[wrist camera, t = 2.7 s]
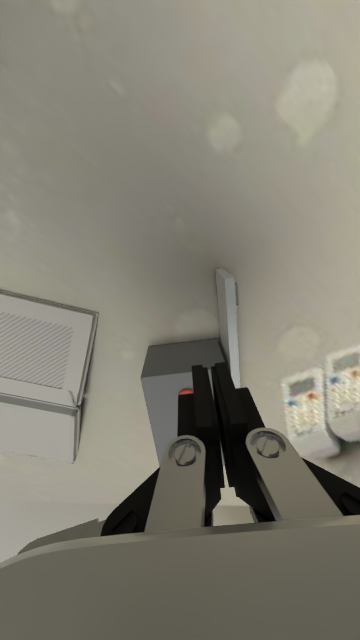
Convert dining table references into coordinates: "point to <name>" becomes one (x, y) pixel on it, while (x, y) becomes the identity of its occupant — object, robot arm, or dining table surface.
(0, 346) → the gadget
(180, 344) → the gray box with knob
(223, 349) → the side door
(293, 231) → the dining table surface
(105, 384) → the dining table surface
